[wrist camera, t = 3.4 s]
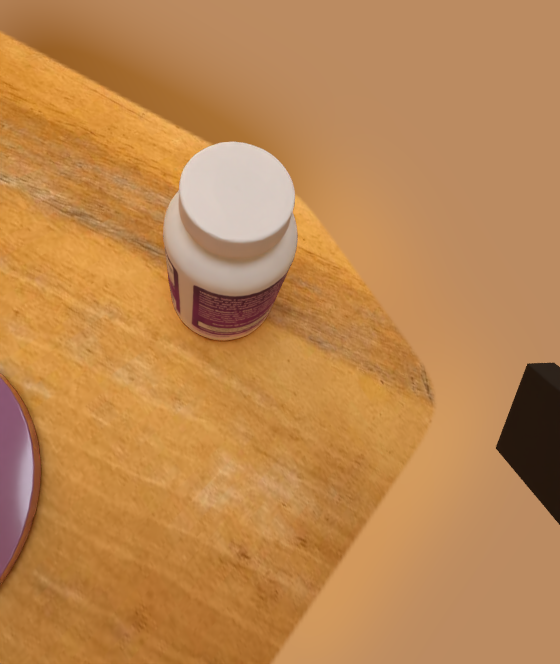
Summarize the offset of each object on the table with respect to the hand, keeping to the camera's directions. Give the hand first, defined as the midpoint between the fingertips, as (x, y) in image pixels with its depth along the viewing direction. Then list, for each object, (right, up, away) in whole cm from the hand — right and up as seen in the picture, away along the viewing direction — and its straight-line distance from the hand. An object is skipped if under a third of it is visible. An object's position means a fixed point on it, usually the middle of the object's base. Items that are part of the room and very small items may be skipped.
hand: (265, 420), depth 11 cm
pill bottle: (-3, +4, +14) cm, 15 cm away
